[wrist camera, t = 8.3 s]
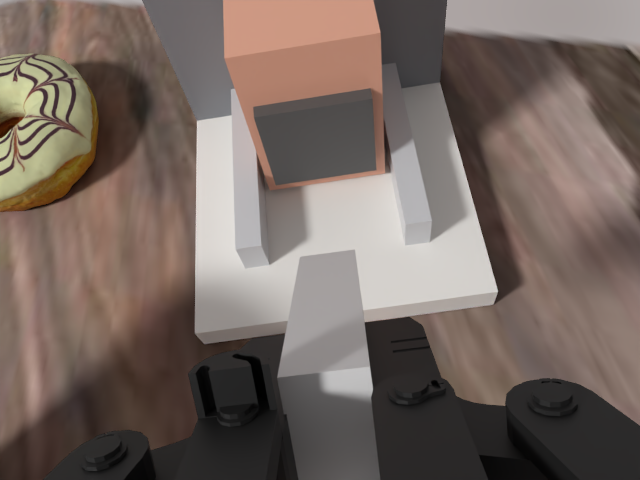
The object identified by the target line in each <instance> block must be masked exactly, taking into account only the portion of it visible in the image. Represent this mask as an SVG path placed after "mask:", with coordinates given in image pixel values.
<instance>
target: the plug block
mask: <svg viewBox="0 0 640 480" xmlns="http://www.w3.org/2000/svg"><path fill="white" fill-rule="evenodd" d="M223 21H224V59H225V62H226V65H227V68H228V71H229V73H230V76H231V79H232V82H233V85H234V88H235V91H236V94H237V97H238V100H239V102H240V105H241V108H242V111H243V114H244V117H245V120H246V123H247V126H248V129H249V131H250V134H251V137H252V140H253V143H254V146H255V149H256V152H257V155H258V158H259V160H260V163H261V166H262V169H263V172H264V175H265V178H266V181H267V184H268V187H269V189H270V190H277V189H284V188H290V187H297V186H304V185H310V184H317V183H324V182H330V181H337V180H344V179H350V178H357V177H363V176H370V175H377V174H383V173H385V152H384V122H383V91H382V60H381V32H380V28H379V23H378V19H377V14H376V10H375V5H374V1H373V0H223Z"/></svg>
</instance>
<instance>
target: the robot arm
mask: <svg viewBox="0 0 640 480" xmlns="http://www.w3.org/2000/svg"><path fill="white" fill-rule="evenodd" d="M188 375H189V380H190V384H191V389H192V393H193V397H194V402H195V406H196V410H197V415H198V421H197V423H196V426H195V429H194V431H193V434H192V436H191V437H189V438H187V439H184V440H182V441H179V442H176V443H174V444H170V445H167V446H164V447H161V448H157V449H154V450H150V446H149V442H148V438H147V437H146V436H144V435H143V434H142V433H141V432H136V431H131V430H125V431H112V432H108V433H107V434H105V433H104V434H101V435H98V436H96V437H95V438H94V439H92V440H90V441H88V442H86V443H84V444H82V445H80V446H79V447H78V448H77V449H75V450H74V451H73V452H71V453H70V454H69V455H68V456H67V457H66V458H65V459H64V460H63V461H62V462H61V463H59V464H58V465H57V466H56V467H55V468H54V469H53V470H52V471H51V472H50V473H49V474H48V475H47V476H46V477H45V478H44V479H43V480H640V426H639V425H638V424H637V423H635V422H634V421H633V420H631V419H630V418H628V417H627V416H626V415H624V414H623V413H622V412H620V411H619V410H617V409H616V408H615V407H613V406H612V405H610V404H609V403H608V402H606V401H605V400H604V399H602V398H601V397H599V396H598V395H597V394H595V393H594V392H593V391H591V390H589V389H587V388H585V387H583V386H581V385H579V384H576V383H572V382H568V381H564V380H561V379H550V378H545V379H539V380H532V381H526V382H524V383H522V384H519V385H517V386H514V387H513V388H512V389H511V390H510V391H509V392H508V393H507V396H506V403H505V404H506V406H498V405H486V404H479V403H473V402H470V401H466V400H463V399H461V398H459V397H457V396H456V395H455V392H454V389H453V388H452V386H451V385H450V384H449V383H448V381H447V380H445V379H443V378H441V375H440V373H439V370H438V367H437V364H436V362H435V359H434V356H433V353H432V351H431V348H430V345H429V342H428V340H427V337H426V334H425V331H424V329H423V326H422V325H421V324H419V323H418V322H416V321H415V320H413V319H412V318H410V317H405V318H397V319H389V320H381V321H373V322H365V320H364V313H363V306H362V298H361V291H360V283H359V276H358V269H357V261H356V254H355V249H354V250H347V251H339V252H332V253H324V254H317V255H309V256H302V257H300V259H299V265H298V270H297V275H296V281H295V286H294V291H293V296H292V302H291V307H290V312H289V318H288V323H287V328H286V333H285V334H283V335H275V336H267V337H259V338H252V339H251V340H250V341H249V342H248V343H246V344H245V345H244V346H243V347H242V348H241V349H240V350H234V351H229V352H224V353H220V354H217V355H215V356H212V357H209V358H207V359H205V360H203V361H202V362H200V363H199V364H197V365H196V366H194V367H193V369H192V370H191V371H190V372H189V373H188Z"/></svg>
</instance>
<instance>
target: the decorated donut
mask: <svg viewBox="0 0 640 480" xmlns="http://www.w3.org/2000/svg"><path fill="white" fill-rule="evenodd" d="M98 125H99V118H98V112H97V106H96V101H95V98H94V95H93V94H92V91H91V90H90V88H89V87H88V85H87V83H86V82H85V80H84V79H83V78H82V77H81V75H80V74H79V72H78V71H77V70H76V69H75V68H74V67H73V66H71V65H70V64H68V63H67V62H66V61H64V60H62V59H60V58H57V57H54V56H46V55H40V54H16V55H12V56H8V57H4V58H0V212H4V211H24V210H27V209H30V208H32V207H36V206H41V205H45V204H49V203H51V202H53V201H54V200H55V199H58V198H61V197H63V196H65V195H66V194H67V193H68V191H69V190H70V189H71V186H72V185H73V184H75V183H76V182H77V181H78V179H79V178H80V177H81V176H82V175H83V174H84V173H85V171H86V170H87V169H88V168H89V167H90V165H91V164H92V163H93V161H94V159H95V156H96V155H95V152H96V144H97V136H98Z"/></svg>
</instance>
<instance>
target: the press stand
mask: <svg viewBox="0 0 640 480" xmlns="http://www.w3.org/2000/svg"><path fill="white" fill-rule="evenodd" d="M142 1H143V3H144V5H145V8H146V10H147V12H148V14H149V16H150V19H151V21H152V23H153V25H154V27H155V29H156V32H157V34H158V36H159V38H160V40H161V43H162V45H163V47H164V49H165V51H166V54H167V56H168V58H169V60H170V62H171V65H172V67H173V69H174V71H175V73H176V76H177V78H178V80H179V82H180V84H181V87H182V89H183V91H184V93H185V95H186V98H187V100H188V102H189V104H190V106H191V109H192V111H193V113H194V115H195V117H196V120H197V173H196V266H195V334H196V336H197V337H198V338H199V339H200V340H201V341H202V342H203V343H204V344H209V343H217V342H224V341H231V340H239V339H246V338H253V337H260V336H268V335H275V334H282V333H286V328H287V323H288V318H289V312H290V307H291V302H292V296H293V291H294V286H295V281H296V275H297V270H298V265H299V259H300V257H302V256H309V255H317V254H324V253H332V252H339V251H347V250H354V249H355V254H356V261H357V269H358V276H359V283H360V291H361V298H362V306H363V313H364V320H365V322H370V321H377V320H385V319H392V318H399V317H407V316H414V315H421V314H429V313H436V312H443V311H450V310H458V309H465V308H472V307H480V306H487V305H493V304H494V302H495V299H496V296H497V293H498V289H497V286H496V282H495V279H494V275H493V271H492V268H491V264H490V261H489V257H488V253H487V250H486V246H485V243H484V239H483V235H482V232H481V228H480V225H479V221H478V217H477V214H476V210H475V207H474V203H473V200H472V196H471V192H470V189H469V185H468V182H467V178H466V174H465V171H464V167H463V164H462V160H461V156H460V153H459V149H458V146H457V142H456V138H455V135H454V131H453V128H452V124H451V120H450V117H449V113H448V110H447V106H446V103H445V99H444V95H443V92H442V88H441V85H440V75H441V64H442V52H443V41H444V30H445V17H446V6H447V0H373V1H374V5H375V10H376V14H377V19H378V23H379V28H380V32H381V60H382V91H383V122H384V152H385V173H383V174H377V175H370V176H363V177H357V178H350V179H344V180H337V181H330V182H324V183H317V184H310V185H304V186H297V187H290V188H284V189H277V190H270V189H269V187H268V184H267V181H266V178H265V175H264V172H263V169H262V166H261V163H260V160H259V158H258V155H257V152H256V149H255V146H254V143H253V140H252V137H251V134H250V131H249V129H248V126H247V123H246V120H245V117H244V114H243V111H242V108H241V105H240V102H239V100H238V97H237V94H236V91H235V88H234V85H233V82H232V79H231V76H230V73H229V71H228V68H227V65H226V62H225V59H224V21H223V0H142Z"/></svg>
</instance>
